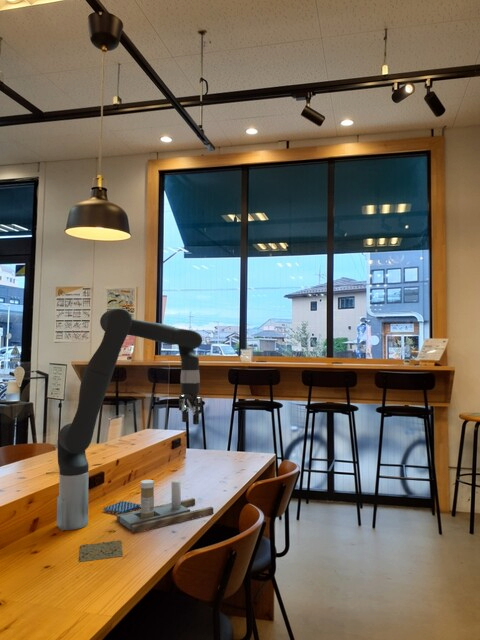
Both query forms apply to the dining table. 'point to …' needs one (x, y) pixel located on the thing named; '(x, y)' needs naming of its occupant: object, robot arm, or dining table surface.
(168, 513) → the grey tray with post
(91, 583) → the dining table surface
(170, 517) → the guide rails
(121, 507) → the woven mat
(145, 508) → the sprinkles bottle
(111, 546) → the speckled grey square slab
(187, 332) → the robot arm
